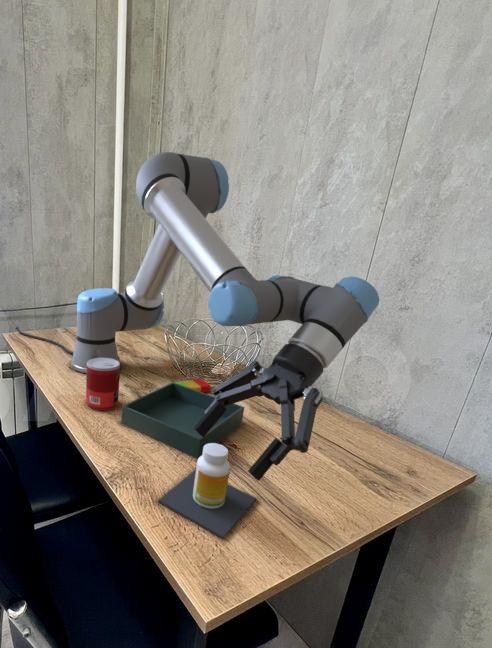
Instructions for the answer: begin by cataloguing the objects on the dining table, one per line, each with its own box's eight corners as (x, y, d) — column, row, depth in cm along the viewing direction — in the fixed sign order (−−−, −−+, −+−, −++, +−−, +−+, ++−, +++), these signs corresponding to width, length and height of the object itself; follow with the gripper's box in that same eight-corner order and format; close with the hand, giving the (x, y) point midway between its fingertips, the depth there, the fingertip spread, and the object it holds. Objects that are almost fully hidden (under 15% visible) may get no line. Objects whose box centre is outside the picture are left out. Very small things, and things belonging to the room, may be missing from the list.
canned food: (121, 409, 97) (123, 367, 93) (88, 412, 95) (89, 369, 91) (114, 396, 104) (115, 356, 100) (83, 398, 102) (84, 357, 98)
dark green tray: (121, 423, 91) (122, 406, 89) (171, 397, 106) (172, 382, 104) (197, 458, 79) (200, 439, 78) (241, 423, 94) (244, 407, 93)
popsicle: (211, 391, 111) (212, 385, 110) (163, 398, 105) (164, 392, 104) (201, 384, 115) (201, 378, 115) (154, 390, 110) (155, 384, 109)
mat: (158, 502, 66) (158, 499, 66) (195, 471, 75) (195, 469, 75) (223, 539, 60) (223, 536, 59) (255, 500, 68) (256, 498, 68)
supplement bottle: (229, 508, 65) (238, 458, 62) (198, 510, 64) (205, 459, 61) (217, 487, 70) (225, 439, 67) (188, 489, 69) (194, 441, 66)
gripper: (382, 398, 59) (292, 509, 57) (259, 347, 79) (190, 428, 77) (371, 369, 55) (272, 488, 53) (244, 323, 75) (169, 408, 73)
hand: (223, 452), depth 65 cm, fingers open, 13 cm apart
